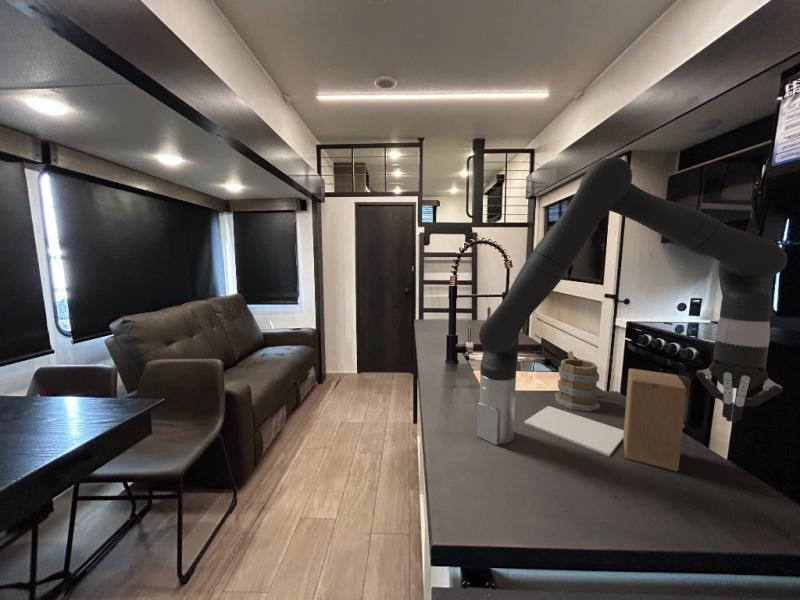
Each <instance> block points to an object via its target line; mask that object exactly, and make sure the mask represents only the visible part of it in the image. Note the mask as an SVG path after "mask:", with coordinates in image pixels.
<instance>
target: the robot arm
mask: <svg viewBox="0 0 800 600" xmlns="http://www.w3.org/2000/svg"><path fill="white" fill-rule="evenodd" d="M632 180H633V171H632V167H631V166H630V164H629V162H627V161H626V160H625V159H623V158H620V157H608V158H604V159H602V160H599V161H597V162H595V163H594V164H593V165H591V166H590V167H589V168H588V169H587V171H586V172H585V174H584V175H583V176H582V178H581V180H580V183H579V187H578V188H577V190H576V192H575V194H574V195H573V197H572V199H571V201H570V202H569V204H568V206H567V207H566V209H565V211H564V212H563V213H562V215H561V216H560V217H559V218H558V219H557V221H555V223H554V224H553V225H552V226H551V227H550V228H549V229H548V231H547V232H546V233H545V234H544V236H543V237H542V238H541V239H540V240H539V242H538V243H537V245H536V246H535V248H534V249H533V250H532V251H531V254H530V255H529V256H528V258H527V259H526V260H525V262H524V264H523V265H522V267H521V269H520V270H519V272H518V273H517V275H516V277H515V279H514V281H513V283H512V284H511V286H510V288H509V290H508V292H507V293H506V296H505V297H504V299H503V300H502V301H501V303H500V304H499V305H498V306H497V308H495V310H494V311H493V313H491V314H490V316H489V317H488V318H486V319H487V320H485V321H484V322H483V323H482V324H481V326H480V329H479V335H478V336H479V337H478V338H479V343H480V344H481V346H482V348H483V352H482V358H481V362H480V370H479V371H480V375H479V377H480V378H479V379H480V380H479V402H478V403H477V425H476V428H477V429H476V431H477V432H476V436H477V437H478V438H480V439H483V440H485V441H487V442H489V443H491V444H493V445H494V446H495V445H496V446H497V445H500V444H501V445H502V444H508V443H511V442H512V441H513V440H514V437H515V433H514V431H515V406H516V405H515V403H516V388H517V387H516V383H517V382H516V380H517V367H518V362H519V361H518V360H519V359H518V358H519V343H520V342H519V339H520V333H521V331H522V330H523V328H524V326H525V324H526V323H527V321H528V320H529V318H530V316H532V314H533V313H534V311H535V310H536V309H538V307H539V306H540V305H541V304H542V303H543V302H544V301H545V300H546V299H547V298H548V297H549V295H550V294H551V293H552V291H554V289H555V288H556V287H557V286H558V285H559V284H560V282H561V281H562V280H563V278H564V276H565V275H566V274H567V273H568V271H569V270H570V269H571V267H572V265H574V262H575V261H576V260H577V258H578V256H579V255H580V253H581V252H582V250H583V248H584V247H585V246H586V244H587V242H588V239H589V238H590V236H591V235H592V233H593V232H594V231H595V229H596V227H597V226H598V224H599V223H600V222H601V221H602V219H604V217H605V216H606V215H607V214H608V213H609V212H612V213H615V214H618V215H620V216H623V217H625V218H627V219H630V220H632V221H634V222H636V223H638V224H641V226H645V227H646V228H648V229H649V230H651V231H653V232H656V233H657V234H659V235H660V236H662V237H664V238H666V239H668V240H669V241H671V242H673V243H675V244H677V245H679V246H680V247H683V248H685V249H686V250H688V251H690V252H692V253H694V254H698V255H699V256H704V257H709V258H713V259H715V260H716V261H718V270H717V271H718V279H719V287H720V291H721V296H722V298H721V302H720V313H719V320H718V323H717V326H716V331H715V339H714V340H715V341H714V349H713V351H714V352H713V358H712V359H713V360H712V362H711V363H710V364H709V366H708V368H706V369H702V370H701V369H698V370H697V371H696V373H695V376H696V378H697V379H698V380H699V382H701V384H702V385H703V386H704V387H705V389H706V390H707V391H708V393H709V394H710V395H711V396H712V397H713V398H714V399H718V400H719V401H721V402H722V403H723V404H722V412H721V415H722V417H723V418H726V421H727V422H730V423H734V424H736V423H737V422H741V421H742V419H743V418H742V417H743V410H744V408H745V407H753V408H755V407H757V406H759V405H760V404H763V403H765V402H766V401H768V400H770V399H772V398H774V397H775V396H778V395H779V394H781V393H782V392H783V387H782V386H781V385H780V384H779V383H776V382H774V381H773V380H771V379H769V373H768V371H767V370H766V367H767V360H768V354H769V353H768V352H769V345H770V342H771V338H770V337H771V327H770V325H771V324H770V323H771V322H770V321H771V315H772V314H771V313H772V307H773V306H772V305H773V297H772V295H771V294H770V293H769V292H767V291H765V290H764V288H763V279H764V278H765V279H766V278H769V277H772V276H775V275H777V274H779V273H781V272H782V271H783V270H784V269H785V267H786V265H787V263H788V256H787V253H786V252H785V250H784V248H782V247H781V245H779V244H777V243H776V242H774V241H772V240H769V239H767V238H764V237H762V236H759V235H756V234H753V233H751V232H748V231H744V230H742V229H739V228H734V227H732V226H729V225H727V224H725V223H724V222H722V221H720V220H719V219H716V218H714V217H712V216H710V215H708V214H706V213H704V212H702V211H700V210H698V209H695V208H693V207H690V206H687V205H685V204H682V203H678V202H674V201H672V200H667V199H665V198H663V197H660V196H656V195H653V194H652V193H649V192H648V191H645V190H644V189H642V188H640V187H638V186H636V185H635V184H634V183H632ZM712 375H713V376H714V378H715V379H716V380H717V382H718V384H720V385H721V386H722V387H723V392H721V390H719V388H718V387H717V385H716V384H715V383H714V382H713V381H712V377H713V376H712ZM762 384H763V386H762V390H761V391H759V392H757V393H756V394H754V395H751V397H746V396H747V392H749V391H751V390H754V389H756V388H757V387H759V386H760V385H762ZM734 389H736V390H737V393H736V399H735V400H734V402H733V398H734V397H733V392H734Z"/></svg>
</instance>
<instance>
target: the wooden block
mask: <svg viewBox="0 0 800 600" xmlns="http://www.w3.org/2000/svg"><path fill="white" fill-rule="evenodd" d="M627 374H628V375H627V385H626V386H627V387H626V388H627V389H626V398H625V411H624V412H625V413H624V424H623V425H624V426H623V430H624V435H623V440H622V442H623V450H624V457H625V459H627V460H631V461H636V462H638V463H643V464H647V465H651V466H654V467H659V468H662V469H666V470H670V471H673V472H678V471H679V468H680V456H681V450H682V449H681V447H682V436H683V427H684V417H685V408H686V399H687V396H686V395H687V387H686V386H685V384H684V382H683V380H682V379H681V378H680V377H679V375H677V374H673V373H665V372H658V371H651V370H646V369H645V370H644V369H638V368H628V373H627Z"/></svg>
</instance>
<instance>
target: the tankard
mask: <svg viewBox="0 0 800 600" xmlns="http://www.w3.org/2000/svg"><path fill="white" fill-rule="evenodd" d="M558 375H559V377H560V378H559V379H558V380H557V387H558V390H559V391H558V392H555V393H554V398H555V397H556V398H555V402H556V403H557V404H558V403H559V404H558V405H560V404H561V405H560V406H562V405H563V406H562V407H564V406H565V408H567V409H569V410H571V409H573V410H572V411H579V410H580V411H579V412H586V411H587V412H592V411H595V410H599V409H600V408H601V403H599V400H598V399H597V398H596V397H597V396H599V388H598V386H597V383H598V382H599V381H600V374H599V372H598V365H597V364H595V363H594V362H592V361H588V360H585V359H580V358H579V359H578V358H576V359H575V356H574V352H573V350H571V351H568V352H567V358H566V359H561V361H560V366H558Z"/></svg>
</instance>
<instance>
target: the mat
mask: <svg viewBox="0 0 800 600" xmlns="http://www.w3.org/2000/svg"><path fill="white" fill-rule="evenodd" d="M523 424H524V425H527V426H530V427H532V428H535V429H537V430H540V431H543V432H545V433H548V434H550V435H552V436H555V437H558V438H559V439H560V438H561V439H563V440H566V441H568V442H571V443H574V444H576V445H578V446H582V447H584V448H587V449H588V450H592V451H594V452H597V453H600V454H601V455H605V456H607V457H610V456H611V455H612V454H613V452H615V450H616V449H617V447H619V445H620V444H621V443H622V442H623V435H624V429H621V428H618V427H614V426H612V425H608V424H606V423H603V422H599V421H596V420H593V419H590V418H587V417H584V416H581V415H578V414H574V413H571V412H568V411H565V410H562V409H558V408H556V407H553V406H550V405H547V406H546V407H544V408H543V409H541V410H540V411H538V412H537V413H535V414H534V415H532V416H531V417H529V418H528V419H526V420H524V421H523Z"/></svg>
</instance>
